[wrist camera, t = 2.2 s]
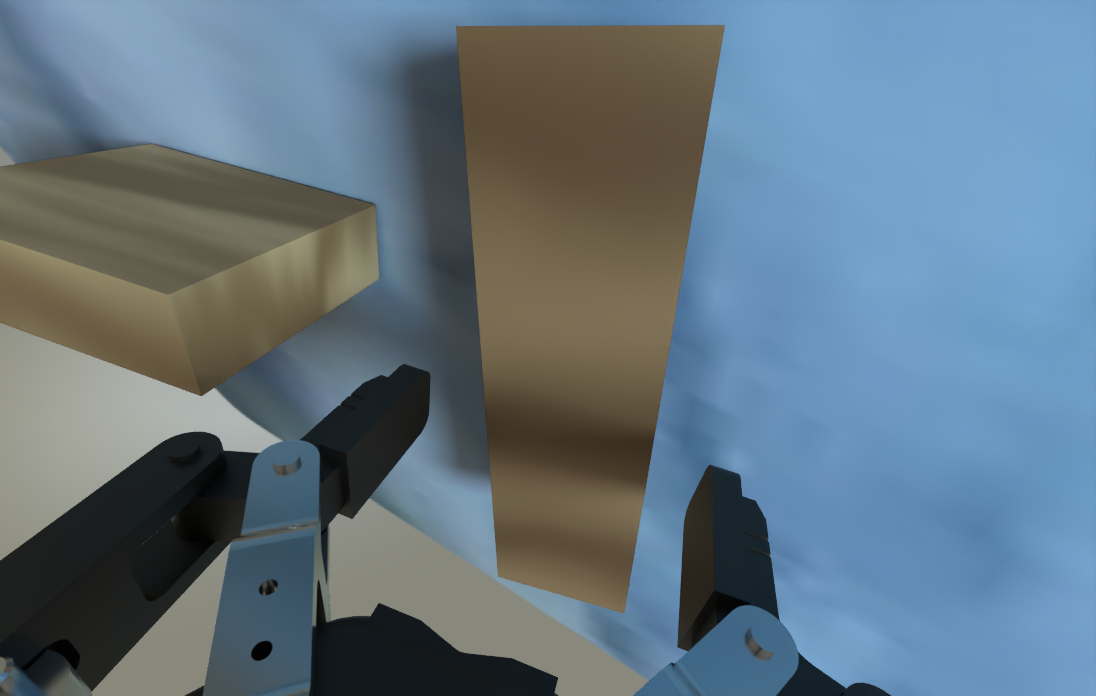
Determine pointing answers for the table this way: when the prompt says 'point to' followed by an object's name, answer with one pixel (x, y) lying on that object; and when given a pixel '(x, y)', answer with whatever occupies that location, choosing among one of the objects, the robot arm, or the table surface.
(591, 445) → the batten
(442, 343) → the table surface
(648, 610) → the table surface
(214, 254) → the fulcrum
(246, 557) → the robot arm
